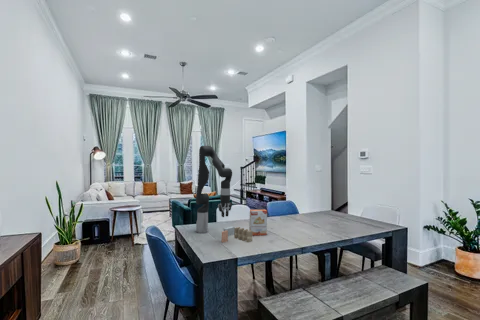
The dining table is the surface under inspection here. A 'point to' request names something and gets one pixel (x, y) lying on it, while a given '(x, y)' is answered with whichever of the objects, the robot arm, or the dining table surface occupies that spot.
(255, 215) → the cracker box
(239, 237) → the domino
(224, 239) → the domino
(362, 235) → the dining table surface
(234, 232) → the domino
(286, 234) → the dining table surface
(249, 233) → the domino
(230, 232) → the end block
